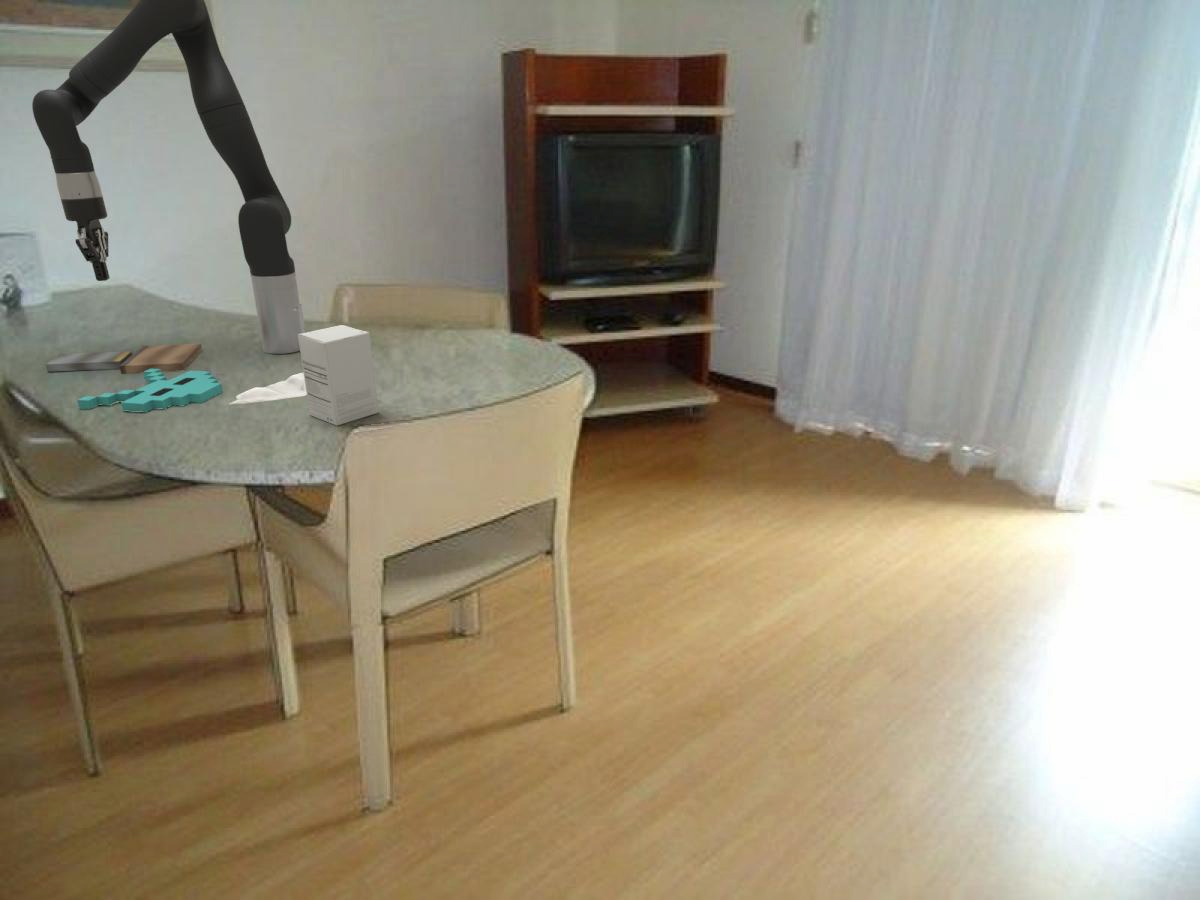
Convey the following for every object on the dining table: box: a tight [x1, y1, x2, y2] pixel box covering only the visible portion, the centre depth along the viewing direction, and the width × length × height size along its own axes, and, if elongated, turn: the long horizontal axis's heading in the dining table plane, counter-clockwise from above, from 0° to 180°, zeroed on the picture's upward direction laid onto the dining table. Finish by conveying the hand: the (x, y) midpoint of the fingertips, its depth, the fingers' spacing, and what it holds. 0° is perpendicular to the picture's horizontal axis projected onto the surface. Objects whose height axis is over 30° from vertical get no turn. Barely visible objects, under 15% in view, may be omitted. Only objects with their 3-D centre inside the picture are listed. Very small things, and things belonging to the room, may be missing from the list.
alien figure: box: [77, 369, 223, 412], centre depth 157 cm, size 20×2×20 cm
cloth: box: [227, 372, 307, 406], centre depth 161 cm, size 26×14×2 cm, turn 137°
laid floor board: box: [119, 343, 203, 375], centre depth 178 cm, size 12×16×2 cm
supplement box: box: [298, 324, 380, 427], centre depth 145 cm, size 9×9×15 cm
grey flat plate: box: [45, 350, 134, 373], centre depth 175 cm, size 14×8×2 cm, turn 101°
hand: (103, 280), depth 176 cm, fingers closed
